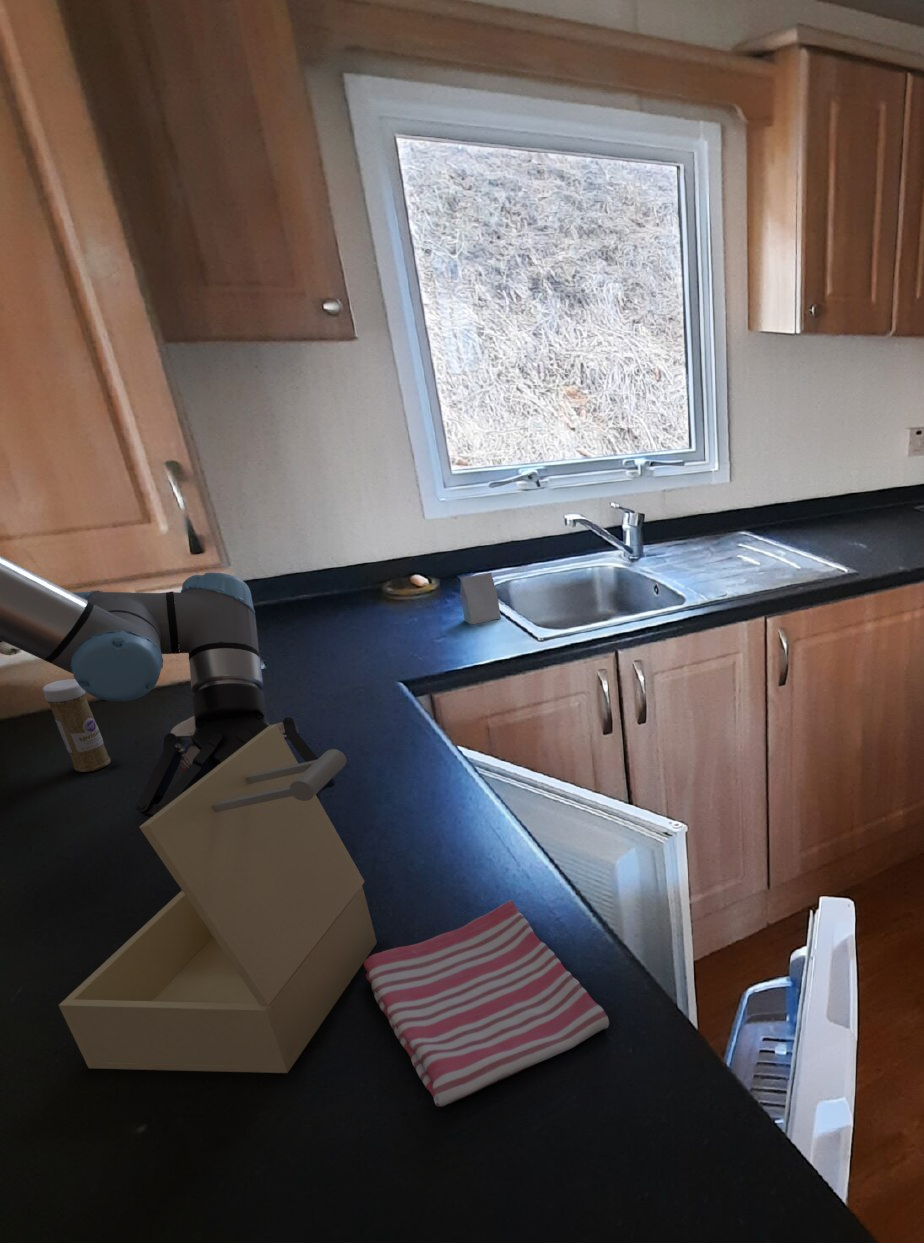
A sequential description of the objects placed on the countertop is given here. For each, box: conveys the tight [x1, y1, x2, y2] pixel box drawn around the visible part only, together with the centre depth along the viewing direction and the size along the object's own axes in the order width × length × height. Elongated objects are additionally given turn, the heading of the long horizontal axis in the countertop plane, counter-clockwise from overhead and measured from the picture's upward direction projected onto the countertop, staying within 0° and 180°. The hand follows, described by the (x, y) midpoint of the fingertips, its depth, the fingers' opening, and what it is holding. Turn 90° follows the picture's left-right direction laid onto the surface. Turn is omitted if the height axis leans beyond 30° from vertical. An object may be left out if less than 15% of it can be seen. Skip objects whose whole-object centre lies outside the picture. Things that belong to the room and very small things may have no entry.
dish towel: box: [362, 899, 610, 1108], centre depth 90 cm, size 17×23×4 cm
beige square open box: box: [58, 885, 378, 1074], centre depth 89 cm, size 19×19×8 cm
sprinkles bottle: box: [41, 678, 112, 773], centre depth 130 cm, size 5×5×13 cm
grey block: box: [459, 572, 502, 625], centre depth 194 cm, size 4×7×10 cm, turn 131°
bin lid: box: [139, 723, 365, 1007], centre depth 82 cm, size 19×19×10 cm
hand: (246, 857), depth 104 cm, fingers open, 13 cm apart
